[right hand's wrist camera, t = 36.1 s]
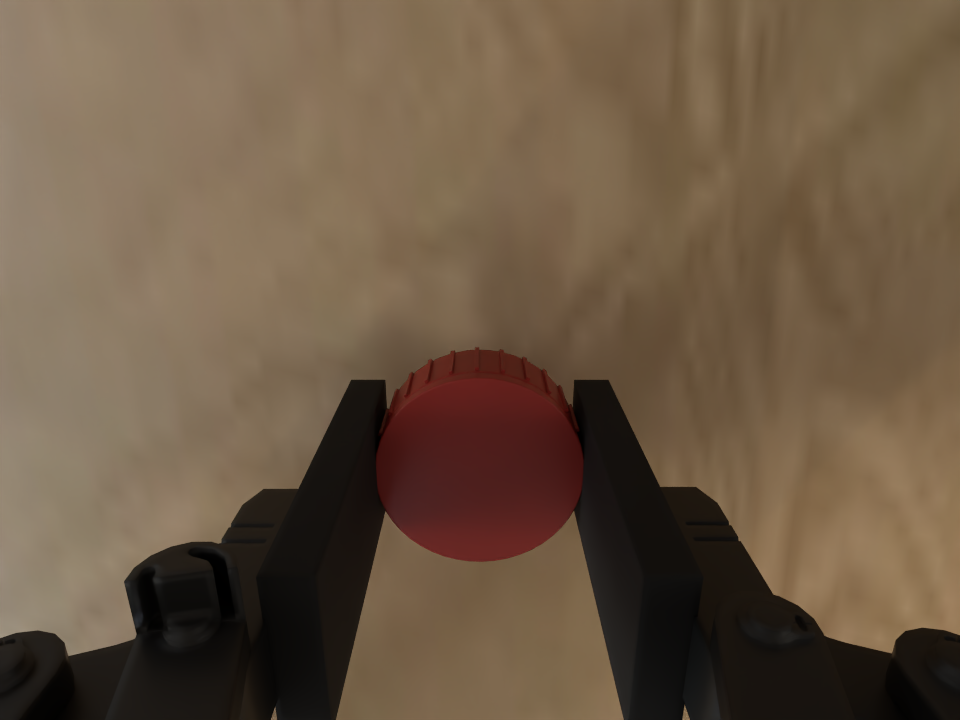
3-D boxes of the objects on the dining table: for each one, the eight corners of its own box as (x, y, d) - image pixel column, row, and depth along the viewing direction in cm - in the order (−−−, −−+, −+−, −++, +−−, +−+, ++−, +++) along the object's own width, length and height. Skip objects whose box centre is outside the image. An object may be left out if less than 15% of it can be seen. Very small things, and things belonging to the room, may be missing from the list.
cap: (579, 343, 14) (591, 372, 12) (573, 516, 15) (583, 562, 14) (376, 347, 14) (362, 377, 12) (390, 520, 15) (380, 567, 14)
